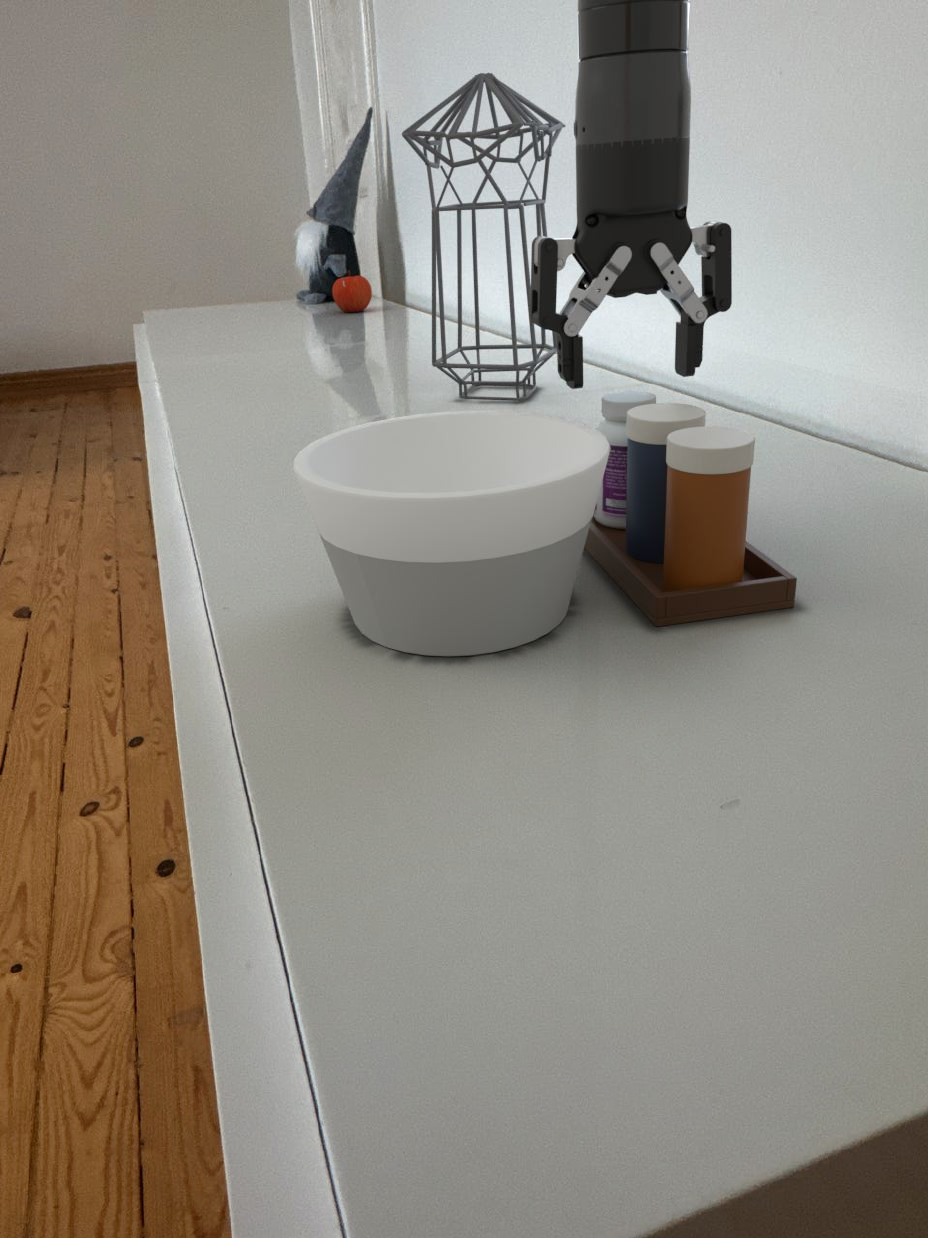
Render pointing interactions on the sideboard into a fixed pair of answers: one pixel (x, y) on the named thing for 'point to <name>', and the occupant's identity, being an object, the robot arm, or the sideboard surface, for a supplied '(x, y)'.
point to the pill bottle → (616, 455)
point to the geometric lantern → (514, 111)
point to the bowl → (455, 524)
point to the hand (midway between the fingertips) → (630, 380)
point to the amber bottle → (706, 506)
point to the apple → (352, 293)
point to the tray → (644, 586)
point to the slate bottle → (651, 473)
